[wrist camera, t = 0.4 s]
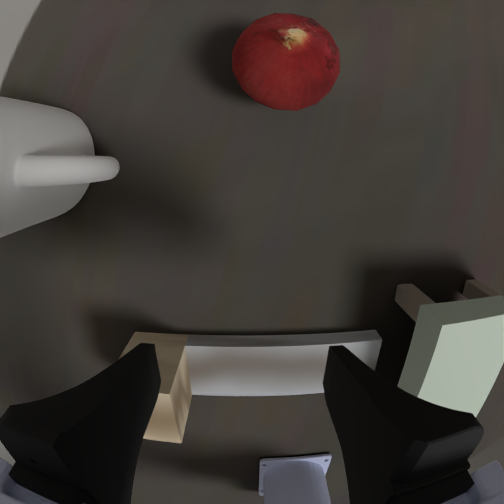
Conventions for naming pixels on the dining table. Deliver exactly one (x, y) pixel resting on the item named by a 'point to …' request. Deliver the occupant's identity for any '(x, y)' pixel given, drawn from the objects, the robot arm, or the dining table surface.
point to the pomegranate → (286, 61)
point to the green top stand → (453, 346)
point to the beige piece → (240, 368)
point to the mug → (44, 163)
